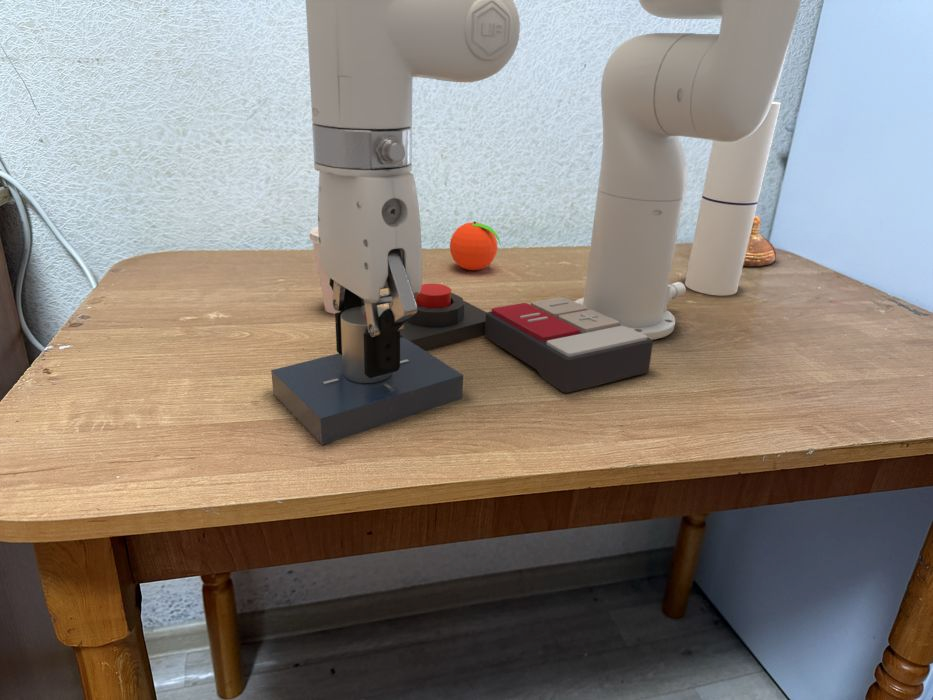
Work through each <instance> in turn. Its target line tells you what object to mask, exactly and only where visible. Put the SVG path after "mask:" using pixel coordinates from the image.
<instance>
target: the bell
mask: <svg viewBox="0 0 933 700" xmlns="http://www.w3.org/2000/svg"><path fill="white" fill-rule="evenodd" d="M761 223H762V222H761V219H760V217H759V216H757V215H755V216H754V221H753V225H752V229H751V233H750V238H749V242H748V246H747V251H746V255H745V259H744V263H743V267H762V266H767V265H771V264H772V263H774V262H775V261H776V257H777V252H776V249H775V247H774V245H773V244H772V243H771V241H769V240H768V239H767V238H765V237H764V236H763V235H762V234H761V233H759V231H760V228H761V227H760V226H761Z"/></svg>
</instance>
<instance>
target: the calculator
mask: <svg viewBox="0 0 933 700" xmlns="http://www.w3.org/2000/svg"><path fill="white" fill-rule="evenodd" d="M486 312H487V313H486V320H485V335H484V337H485V339H487V340H488V341H489V342H491V343H493V344H495V345H496V346H498V347H499V348H501V349H503V350H504V351H506V352H508V353H509V354H510V355H513V356H514V357H516V358H517V359H519V360H521V361H522V362H523V363H525V364H527V365H528V366H530V367H531V368H532V369H534V370H536V371H537V373H538V374H539V376H540V378H541V380H543V381H544V382H546V383H547V384H549V385H551V386H552V387H554V388H555V389H557V390H559V391H560V392H562V393H565V394H568V393H572V392H576V391H580V390H585V389H589V388H592V387H597V386H600V385H604V384H609V383H613V382H616V381H620V380H623V379H628V378H631V377H637V376H641V375H644V374H647V373H649V371H650V367H651V366H650V365H651V358H652V352H653V345H654V344H653V343H654V340H652V339H650V338H647V336H646V335H644V334H642V333H639V332H637V331H635V330H633V329H630V328H628V327H626V326H621V325H619V321H617V320H614V319H612V318H610V317H608V316H605V315H603V314H601V313H599V312H596V311H594V310H587V307H585V306H583V305H581V304H578V303H576V302H574V301H573V300H571V299H569V298H567V297H564V296H559V297H552V298H546V299H540V300H534V301H531V302H530V304H529V303H527V302H522V303H516V304H509V305H503V306H498V307H493V308H491V311H486Z"/></svg>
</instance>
